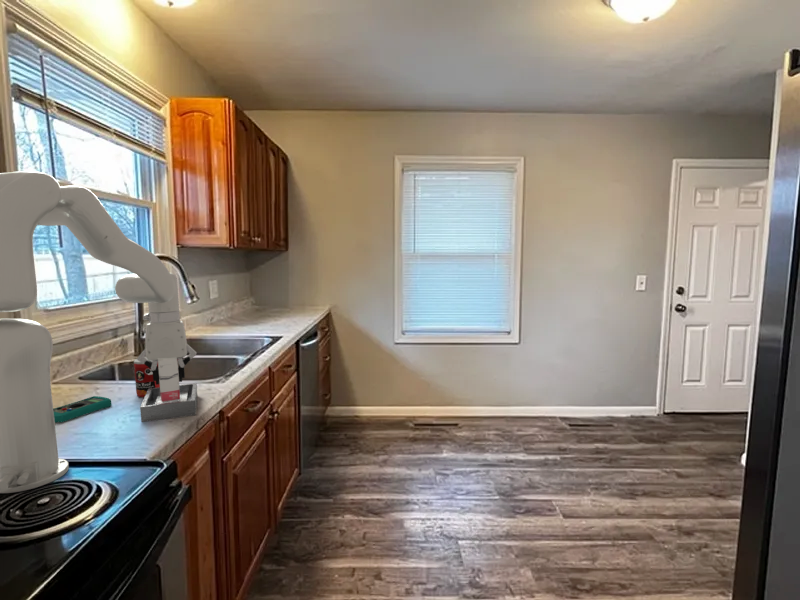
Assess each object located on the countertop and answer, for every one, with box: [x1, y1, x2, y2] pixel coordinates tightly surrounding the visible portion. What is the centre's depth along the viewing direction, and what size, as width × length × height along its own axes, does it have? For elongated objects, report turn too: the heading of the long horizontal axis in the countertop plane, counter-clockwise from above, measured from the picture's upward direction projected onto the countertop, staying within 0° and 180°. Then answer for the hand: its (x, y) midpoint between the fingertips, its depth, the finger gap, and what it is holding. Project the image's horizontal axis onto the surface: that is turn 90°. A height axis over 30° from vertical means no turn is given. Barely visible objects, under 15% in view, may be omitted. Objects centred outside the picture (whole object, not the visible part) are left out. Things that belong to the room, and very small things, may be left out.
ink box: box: [158, 357, 180, 402], centre depth 132 cm, size 9×5×12 cm, turn 26°
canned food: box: [133, 356, 160, 398], centre depth 146 cm, size 8×8×11 cm
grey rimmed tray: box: [139, 382, 198, 423], centre depth 133 cm, size 18×13×4 cm
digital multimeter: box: [53, 395, 112, 424], centre depth 131 cm, size 7×15×3 cm, turn 157°
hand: (169, 381), depth 132 cm, fingers closed on ink box, 5 cm apart
